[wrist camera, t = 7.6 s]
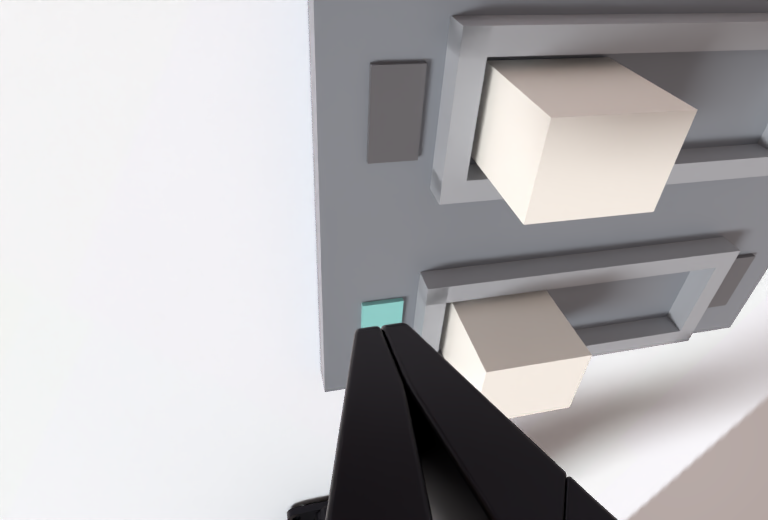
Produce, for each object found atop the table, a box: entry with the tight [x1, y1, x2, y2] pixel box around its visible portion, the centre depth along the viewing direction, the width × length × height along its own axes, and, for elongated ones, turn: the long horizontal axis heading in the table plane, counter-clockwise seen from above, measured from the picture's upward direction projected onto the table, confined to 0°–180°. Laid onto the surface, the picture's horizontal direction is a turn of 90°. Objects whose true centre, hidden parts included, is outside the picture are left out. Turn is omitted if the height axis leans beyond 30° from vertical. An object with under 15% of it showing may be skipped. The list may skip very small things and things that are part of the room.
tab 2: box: [439, 290, 592, 419], centre depth 21 cm, size 3×4×4 cm
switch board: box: [308, 0, 768, 392], centre depth 20 cm, size 16×21×2 cm
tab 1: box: [471, 57, 697, 225], centre depth 15 cm, size 3×4×4 cm
